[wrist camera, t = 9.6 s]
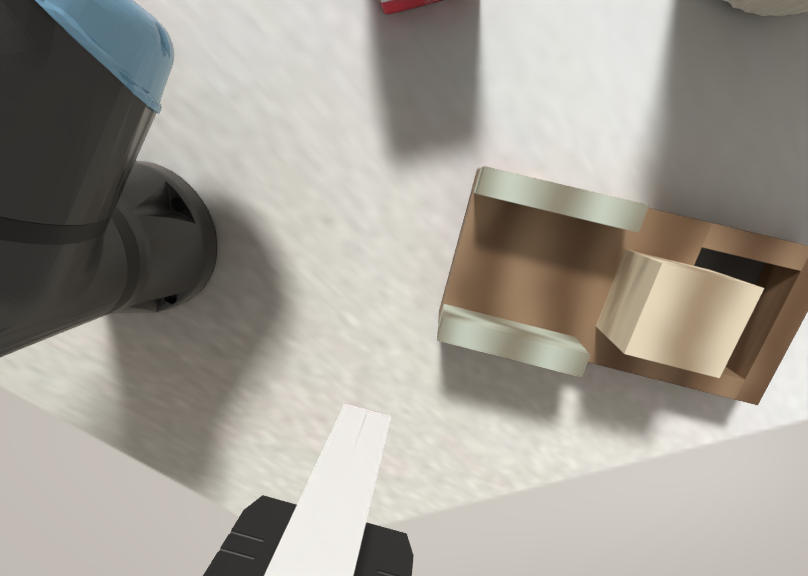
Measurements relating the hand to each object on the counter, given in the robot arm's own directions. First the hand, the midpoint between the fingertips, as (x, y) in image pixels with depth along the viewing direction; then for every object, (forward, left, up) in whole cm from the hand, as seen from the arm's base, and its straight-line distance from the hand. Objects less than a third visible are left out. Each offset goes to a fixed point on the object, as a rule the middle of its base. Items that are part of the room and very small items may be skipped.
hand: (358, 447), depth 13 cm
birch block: (+20, +3, -24) cm, 32 cm away
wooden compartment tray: (+18, +3, -28) cm, 33 cm away
